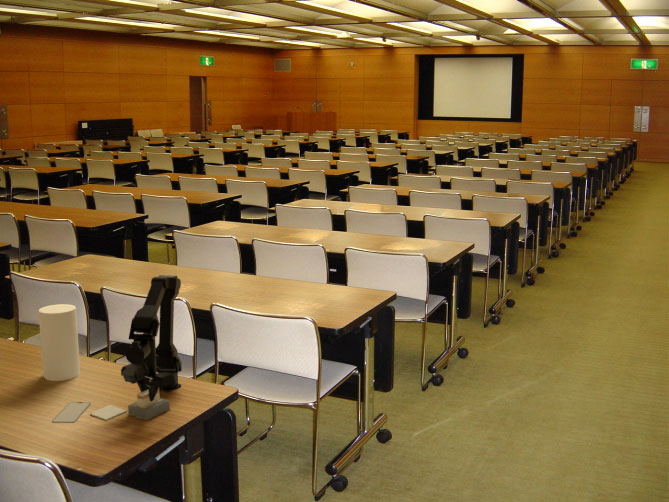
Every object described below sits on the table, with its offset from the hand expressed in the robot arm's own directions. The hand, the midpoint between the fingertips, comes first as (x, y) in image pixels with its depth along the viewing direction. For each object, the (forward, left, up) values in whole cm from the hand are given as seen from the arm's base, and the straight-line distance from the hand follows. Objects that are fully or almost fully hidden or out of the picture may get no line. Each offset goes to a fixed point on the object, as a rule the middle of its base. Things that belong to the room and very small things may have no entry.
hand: (148, 399), depth 224 cm
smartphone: (+14, -20, -5) cm, 25 cm away
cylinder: (-5, -51, -4) cm, 51 cm away
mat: (+8, -10, -4) cm, 13 cm away
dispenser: (0, 0, -4) cm, 4 cm away
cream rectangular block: (0, 0, -4) cm, 4 cm away
